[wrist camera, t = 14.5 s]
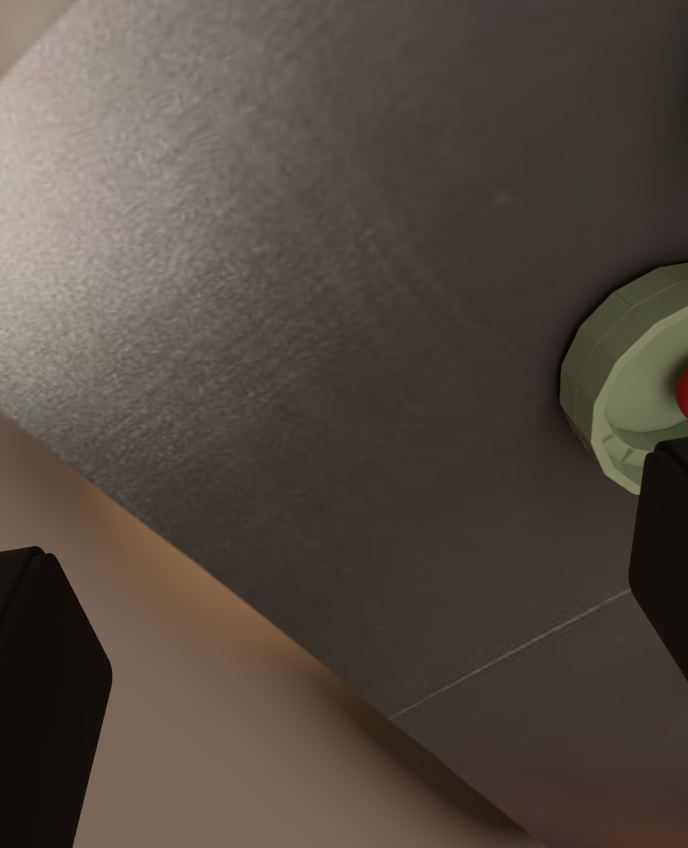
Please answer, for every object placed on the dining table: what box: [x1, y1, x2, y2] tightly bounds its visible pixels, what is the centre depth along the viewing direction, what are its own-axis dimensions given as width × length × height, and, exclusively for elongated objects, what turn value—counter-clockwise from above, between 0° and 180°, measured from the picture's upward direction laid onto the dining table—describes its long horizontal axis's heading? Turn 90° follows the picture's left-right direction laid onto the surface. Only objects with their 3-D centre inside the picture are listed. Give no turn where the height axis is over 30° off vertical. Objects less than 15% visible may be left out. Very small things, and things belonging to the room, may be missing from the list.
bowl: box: [560, 263, 688, 495], centre depth 35 cm, size 12×12×5 cm
